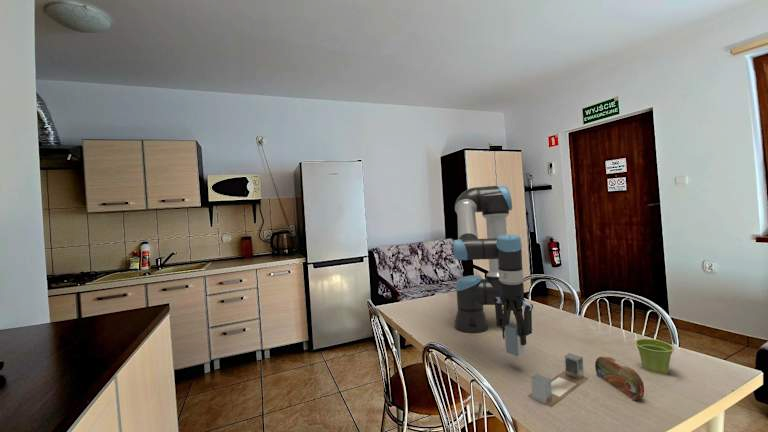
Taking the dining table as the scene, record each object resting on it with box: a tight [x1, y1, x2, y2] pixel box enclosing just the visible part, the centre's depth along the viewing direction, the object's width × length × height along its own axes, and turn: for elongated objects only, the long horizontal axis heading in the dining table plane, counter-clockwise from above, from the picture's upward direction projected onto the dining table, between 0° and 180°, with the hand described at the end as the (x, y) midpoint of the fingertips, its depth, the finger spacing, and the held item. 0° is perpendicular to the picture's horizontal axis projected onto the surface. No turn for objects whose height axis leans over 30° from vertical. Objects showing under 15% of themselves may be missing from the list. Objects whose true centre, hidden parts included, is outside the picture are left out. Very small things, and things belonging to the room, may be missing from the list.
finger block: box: [505, 322, 520, 357], centre depth 107 cm, size 4×5×9 cm
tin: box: [594, 356, 645, 401], centre depth 93 cm, size 15×3×8 cm, turn 5°
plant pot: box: [634, 338, 675, 376], centre depth 102 cm, size 9×9×9 cm
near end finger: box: [530, 373, 552, 406], centre depth 90 cm, size 4×4×6 cm
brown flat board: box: [527, 370, 590, 408], centre depth 95 cm, size 7×22×1 cm, turn 125°
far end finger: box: [564, 352, 585, 380], centre depth 100 cm, size 4×4×6 cm
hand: (514, 351), depth 107 cm, fingers closed on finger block, 4 cm apart
